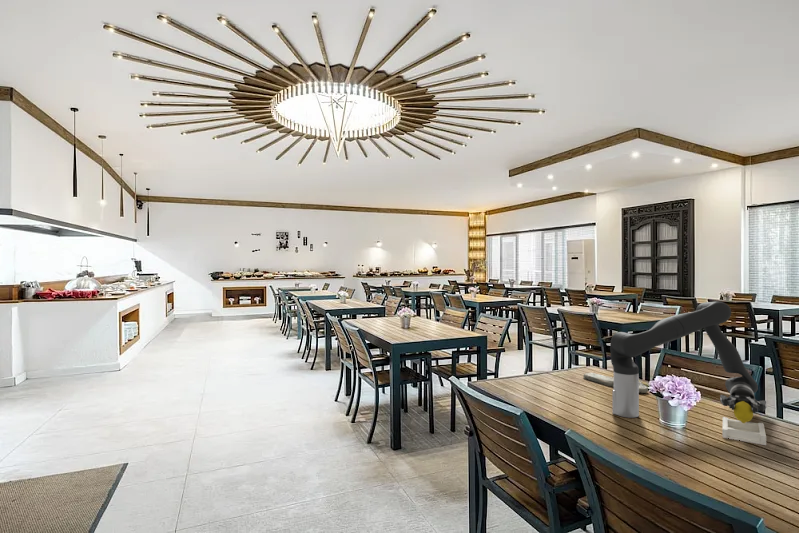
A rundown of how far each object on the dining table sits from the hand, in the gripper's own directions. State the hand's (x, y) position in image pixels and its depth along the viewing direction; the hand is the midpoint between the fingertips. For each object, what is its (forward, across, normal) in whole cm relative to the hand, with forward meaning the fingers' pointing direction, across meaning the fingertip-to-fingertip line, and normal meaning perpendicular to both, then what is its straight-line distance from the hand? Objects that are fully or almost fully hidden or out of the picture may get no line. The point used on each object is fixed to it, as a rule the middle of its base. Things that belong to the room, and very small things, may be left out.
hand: (743, 408), depth 159 cm
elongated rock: (-46, -51, +11) cm, 69 cm away
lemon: (-3, 0, +6) cm, 7 cm away
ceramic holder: (-2, 0, +10) cm, 10 cm away
